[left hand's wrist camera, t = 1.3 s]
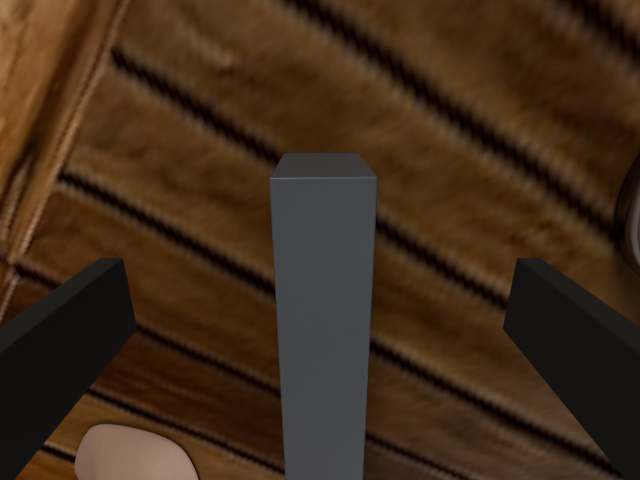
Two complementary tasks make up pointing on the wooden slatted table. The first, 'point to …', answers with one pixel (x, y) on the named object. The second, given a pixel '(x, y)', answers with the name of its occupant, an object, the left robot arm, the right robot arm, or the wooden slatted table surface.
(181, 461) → the anatomical model
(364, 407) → the bar
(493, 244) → the wooden slatted table surface
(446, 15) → the wooden slatted table surface
